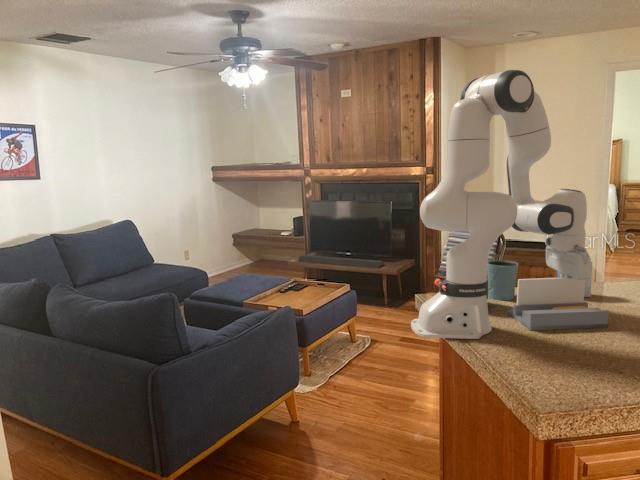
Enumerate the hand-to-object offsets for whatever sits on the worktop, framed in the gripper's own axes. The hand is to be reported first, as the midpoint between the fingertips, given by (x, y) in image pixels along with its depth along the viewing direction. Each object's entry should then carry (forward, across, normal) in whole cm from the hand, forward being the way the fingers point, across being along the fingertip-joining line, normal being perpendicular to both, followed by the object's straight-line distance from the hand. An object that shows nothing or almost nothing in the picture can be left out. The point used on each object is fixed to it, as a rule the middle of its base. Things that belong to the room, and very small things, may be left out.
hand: (566, 287), depth 155 cm
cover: (0, -3, +6) cm, 6 cm away
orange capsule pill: (+6, -6, +2) cm, 9 cm away
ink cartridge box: (+8, +18, -12) cm, 23 cm away
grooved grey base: (+8, -6, +6) cm, 12 cm away
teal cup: (+8, +20, +12) cm, 25 cm away
